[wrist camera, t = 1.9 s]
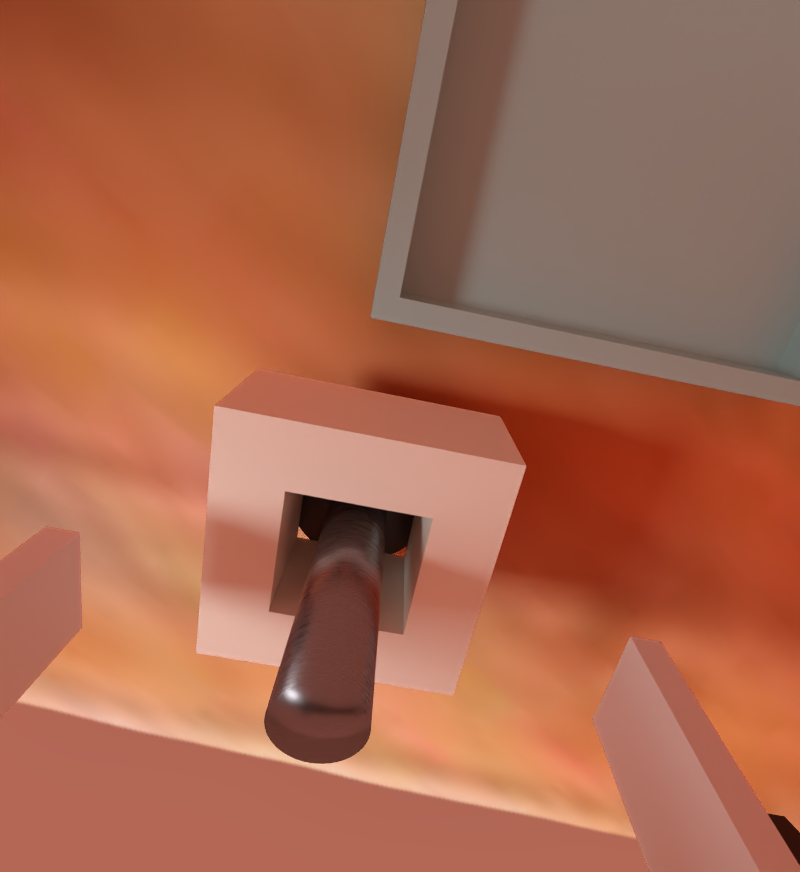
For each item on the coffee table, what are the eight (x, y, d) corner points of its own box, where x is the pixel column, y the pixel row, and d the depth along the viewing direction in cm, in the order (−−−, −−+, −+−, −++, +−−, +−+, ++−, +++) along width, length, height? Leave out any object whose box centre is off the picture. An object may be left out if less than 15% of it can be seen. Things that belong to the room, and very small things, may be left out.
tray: (375, 308, 19) (370, 317, 16) (484, -300, 13) (500, -414, 11) (776, 392, 19) (824, 411, 17) (1037, -147, 14) (1158, -222, 12)
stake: (298, 506, 22) (177, 795, 10) (314, 395, 20) (191, 595, 9) (414, 528, 22) (419, 831, 11) (440, 420, 20) (480, 645, 9)
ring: (237, 572, 19) (195, 652, 15) (258, 368, 16) (214, 405, 13) (444, 609, 20) (453, 695, 16) (500, 416, 17) (526, 466, 13)
